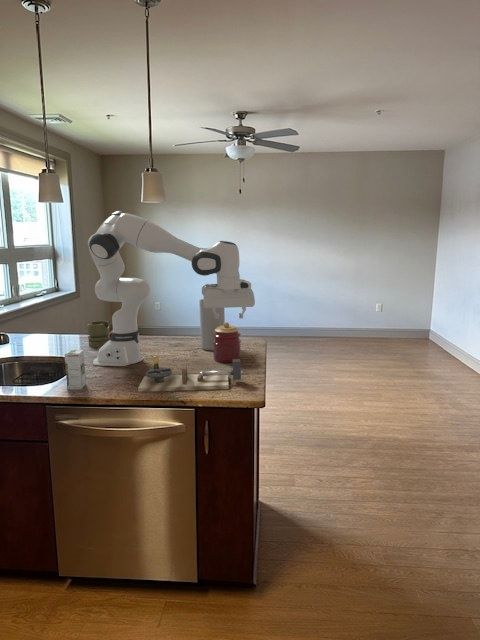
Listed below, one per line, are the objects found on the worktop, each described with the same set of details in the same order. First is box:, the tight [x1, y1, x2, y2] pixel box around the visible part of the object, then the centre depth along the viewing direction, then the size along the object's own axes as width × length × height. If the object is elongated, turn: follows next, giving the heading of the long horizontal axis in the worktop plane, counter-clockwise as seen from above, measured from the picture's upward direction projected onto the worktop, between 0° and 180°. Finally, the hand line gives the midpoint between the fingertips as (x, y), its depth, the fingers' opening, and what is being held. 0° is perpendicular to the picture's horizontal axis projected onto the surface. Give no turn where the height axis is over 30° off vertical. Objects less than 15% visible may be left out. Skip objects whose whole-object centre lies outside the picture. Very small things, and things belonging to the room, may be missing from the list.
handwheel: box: [145, 355, 173, 378], centre depth 167 cm, size 10×10×6 cm
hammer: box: [198, 358, 244, 381], centre depth 168 cm, size 17×4×7 cm, turn 92°
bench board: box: [137, 373, 229, 393], centre depth 168 cm, size 34×14×4 cm, turn 92°
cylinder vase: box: [199, 298, 226, 352], centre depth 220 cm, size 12×12×25 cm
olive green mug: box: [86, 320, 111, 348], centre depth 232 cm, size 11×12×11 cm
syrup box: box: [64, 349, 87, 391], centre depth 166 cm, size 6×6×14 cm
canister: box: [212, 321, 242, 363], centre depth 200 cm, size 13×13×18 cm
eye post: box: [181, 362, 188, 384], centre depth 168 cm, size 1×7×6 cm, turn 2°
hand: (229, 318), depth 169 cm, fingers open, 8 cm apart
